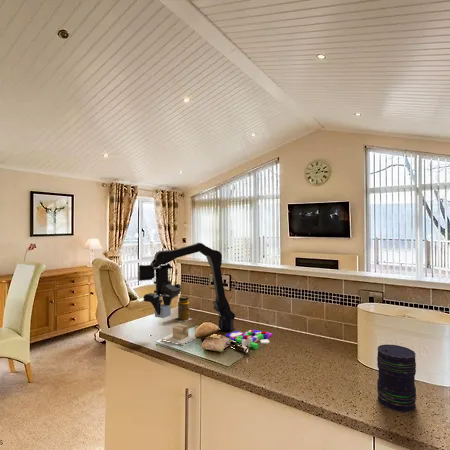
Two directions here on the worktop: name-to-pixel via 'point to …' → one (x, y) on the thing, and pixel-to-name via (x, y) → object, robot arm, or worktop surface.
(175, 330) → the oak block
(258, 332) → the building block set
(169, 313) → the slate block
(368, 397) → the worktop surface
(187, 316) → the condiment
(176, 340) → the plate
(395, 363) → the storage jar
